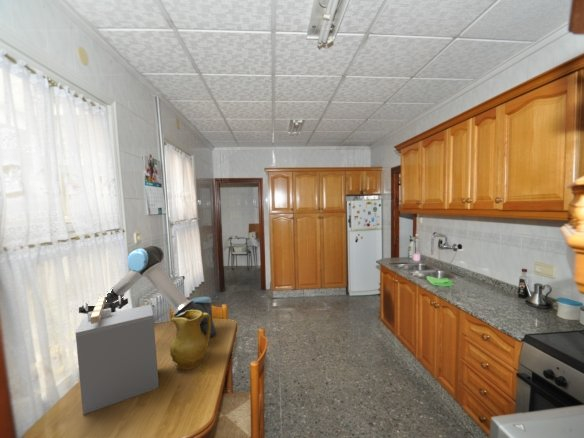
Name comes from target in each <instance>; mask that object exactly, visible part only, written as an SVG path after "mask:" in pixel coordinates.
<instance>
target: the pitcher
mask: <svg viewBox="0 0 584 438" xmlns="http://www.w3.org/2000/svg"><path fill="white" fill-rule="evenodd" d="M204 317H206V318H207V320H208V323H207V332H206V335H204V334H203V332H202V331H201V328H200V322H201V320H202V319H203V318H204ZM171 322H173V324H174V325H175V327H176V329H175V330H176V334H175V337H174V339H173V340H172V342H171V344H170V348H169V351H170V352H169V353H170V357H171V359H172V362H175V368H176V369H177V370H179V371H181V370H183V371H185V370H186V371H187V370H193V369H195V368H197V367H199V366H200V365H201V364H202V362H203V361H204V357H205V355H206V354H207V351H208V350H207V349H208V347H209V346H208V345H209V342H210V339H211V338H210V332H211V331H210V330H211V317H210V315H209V314H208V313H202V312H201V311H199V310H186V311H185V312H184V313H183V314H181V315H179V316H176V317H174V316H173V317H172V318H171Z"/></svg>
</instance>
